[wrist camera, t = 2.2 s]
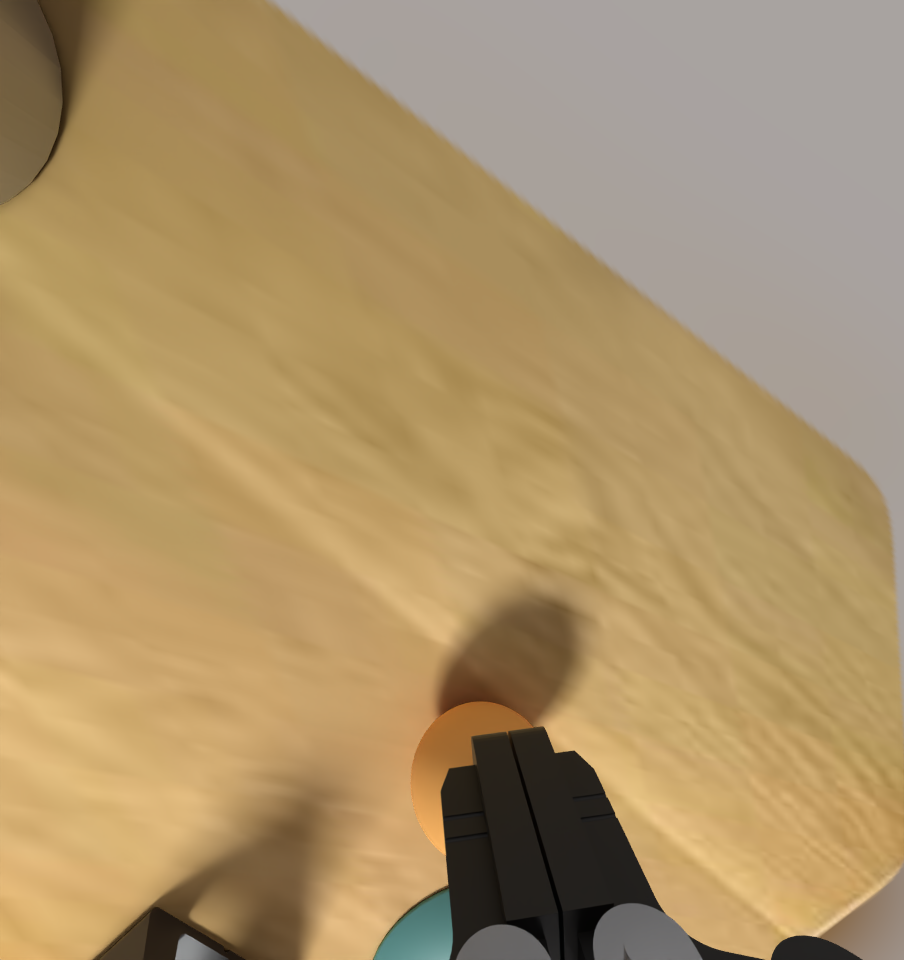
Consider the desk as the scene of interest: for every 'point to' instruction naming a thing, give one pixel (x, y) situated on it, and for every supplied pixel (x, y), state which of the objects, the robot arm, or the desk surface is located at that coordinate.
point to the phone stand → (166, 942)
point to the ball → (452, 756)
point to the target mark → (421, 932)
